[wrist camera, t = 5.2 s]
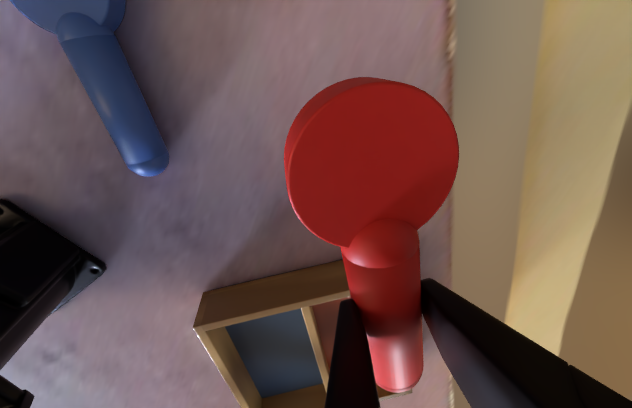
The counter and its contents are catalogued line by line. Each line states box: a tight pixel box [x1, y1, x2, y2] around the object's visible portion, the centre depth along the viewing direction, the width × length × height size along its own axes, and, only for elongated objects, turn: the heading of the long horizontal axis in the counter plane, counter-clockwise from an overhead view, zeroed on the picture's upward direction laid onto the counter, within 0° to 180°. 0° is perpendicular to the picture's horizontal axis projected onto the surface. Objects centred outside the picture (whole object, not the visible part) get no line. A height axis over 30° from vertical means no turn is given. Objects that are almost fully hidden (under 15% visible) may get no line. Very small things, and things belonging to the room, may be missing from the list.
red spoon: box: [284, 77, 459, 393], centre depth 8 cm, size 10×4×2 cm, turn 12°
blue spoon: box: [10, 0, 169, 176], centre depth 12 cm, size 10×4×2 cm, turn 10°
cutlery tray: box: [193, 260, 412, 408], centre depth 22 cm, size 14×14×3 cm
